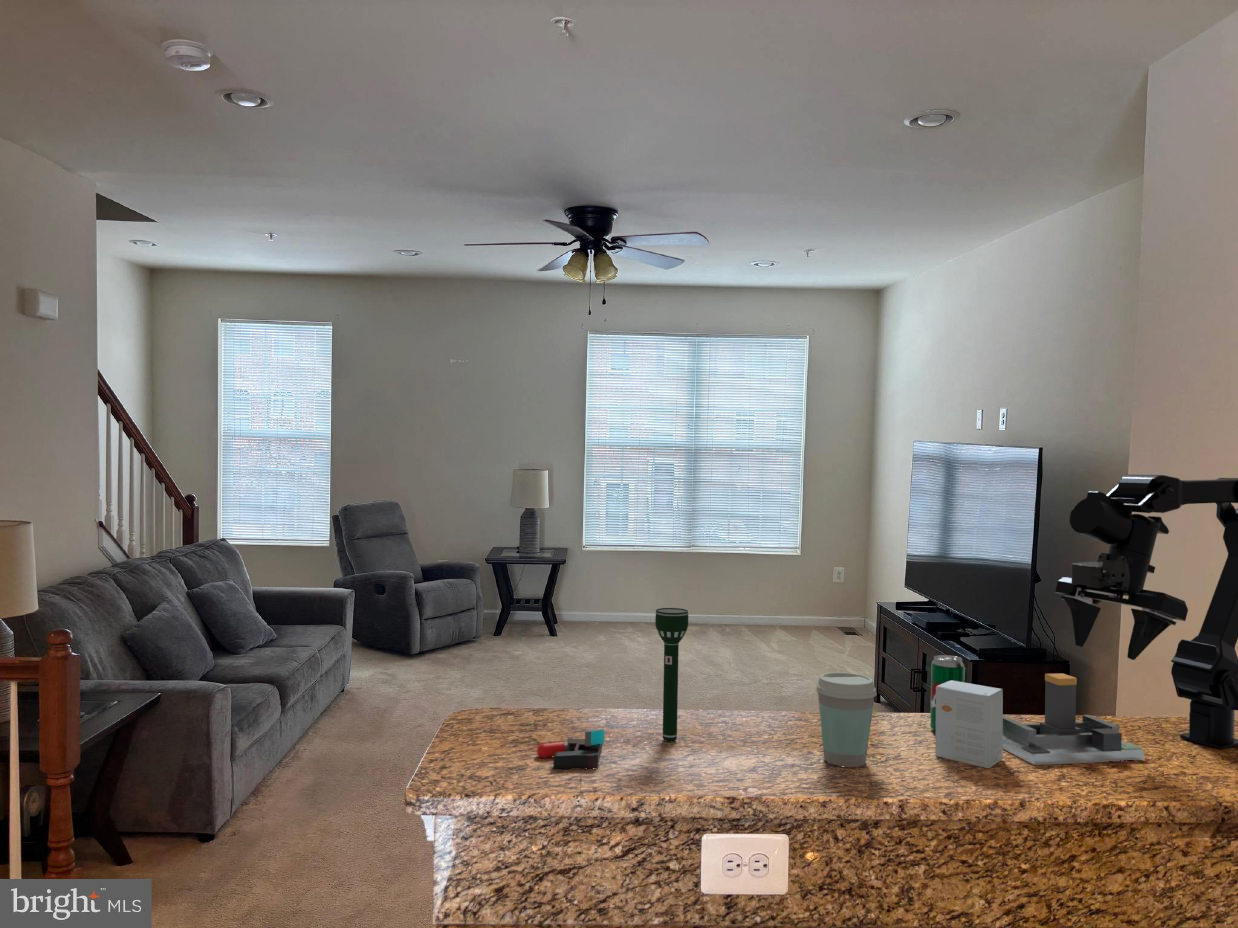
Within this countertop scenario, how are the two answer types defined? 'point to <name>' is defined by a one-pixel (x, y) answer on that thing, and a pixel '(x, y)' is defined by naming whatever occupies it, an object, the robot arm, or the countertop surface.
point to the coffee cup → (845, 717)
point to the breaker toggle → (1059, 705)
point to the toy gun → (575, 751)
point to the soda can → (944, 678)
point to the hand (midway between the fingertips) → (1103, 652)
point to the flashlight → (671, 663)
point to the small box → (969, 723)
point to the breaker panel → (1069, 743)
